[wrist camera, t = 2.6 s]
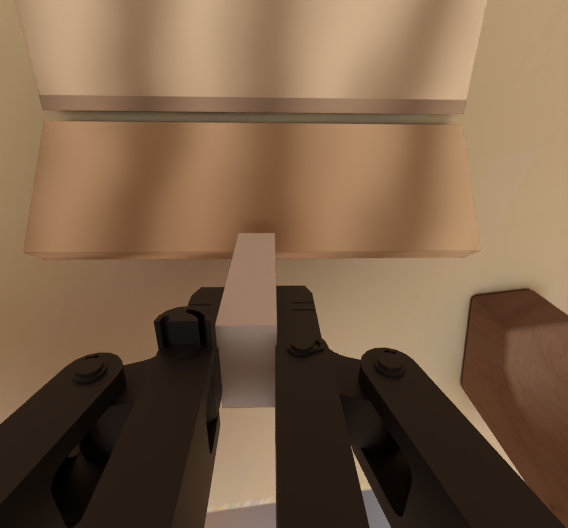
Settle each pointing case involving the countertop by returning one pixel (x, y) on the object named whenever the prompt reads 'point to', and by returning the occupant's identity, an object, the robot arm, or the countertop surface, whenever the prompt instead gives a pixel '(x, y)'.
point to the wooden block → (523, 386)
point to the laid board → (253, 55)
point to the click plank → (250, 190)
